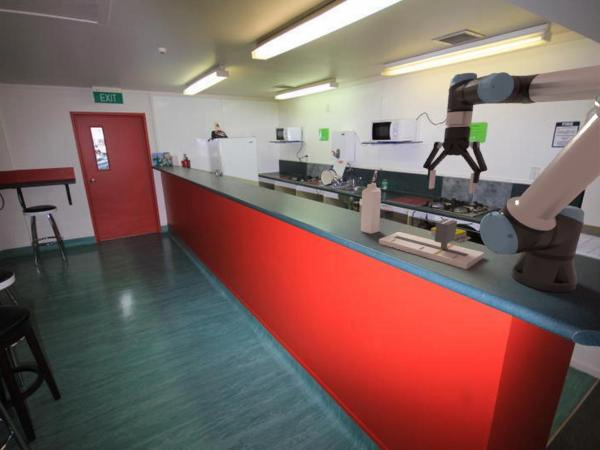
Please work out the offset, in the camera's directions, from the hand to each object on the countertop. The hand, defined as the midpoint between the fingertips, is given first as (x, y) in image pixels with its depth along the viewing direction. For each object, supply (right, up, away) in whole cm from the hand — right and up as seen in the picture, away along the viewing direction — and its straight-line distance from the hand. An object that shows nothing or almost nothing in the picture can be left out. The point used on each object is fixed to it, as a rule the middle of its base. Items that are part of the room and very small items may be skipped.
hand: (450, 190), depth 105 cm
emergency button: (+12, -17, +26) cm, 33 cm away
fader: (0, -20, +5) cm, 21 cm away
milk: (-20, -15, +35) cm, 43 cm away
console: (-4, -22, +10) cm, 24 cm away
